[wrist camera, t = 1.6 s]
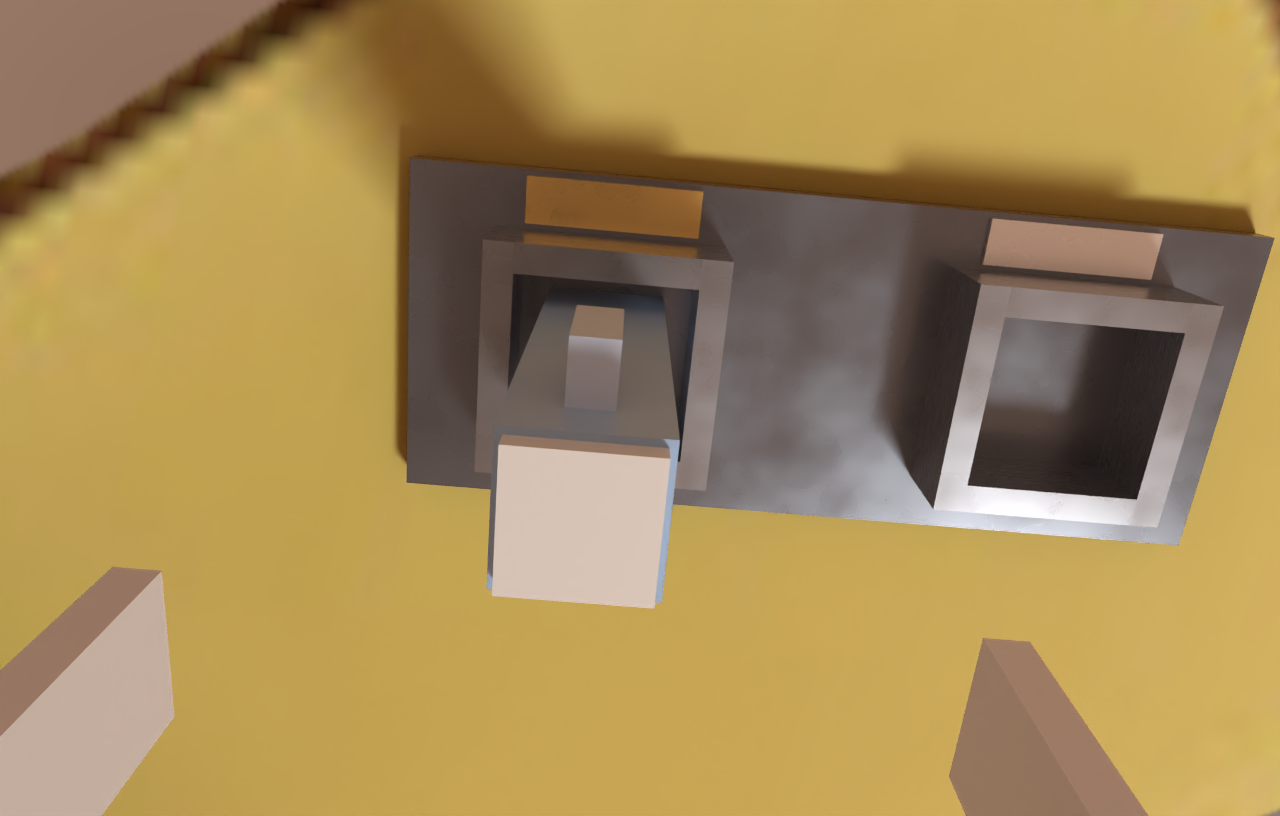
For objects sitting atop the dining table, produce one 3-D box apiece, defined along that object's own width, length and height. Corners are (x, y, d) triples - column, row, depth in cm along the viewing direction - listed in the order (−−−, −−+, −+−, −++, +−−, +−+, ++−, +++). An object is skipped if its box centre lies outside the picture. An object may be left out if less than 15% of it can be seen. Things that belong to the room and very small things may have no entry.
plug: (544, 394, 35) (482, 603, 21) (553, 239, 33) (492, 356, 19) (652, 403, 35) (662, 617, 21) (667, 249, 33) (689, 373, 19)
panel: (412, 472, 37) (387, 517, 33) (416, 156, 33) (387, 165, 29) (1165, 533, 38) (1223, 584, 34) (1256, 233, 34) (1334, 253, 30)
